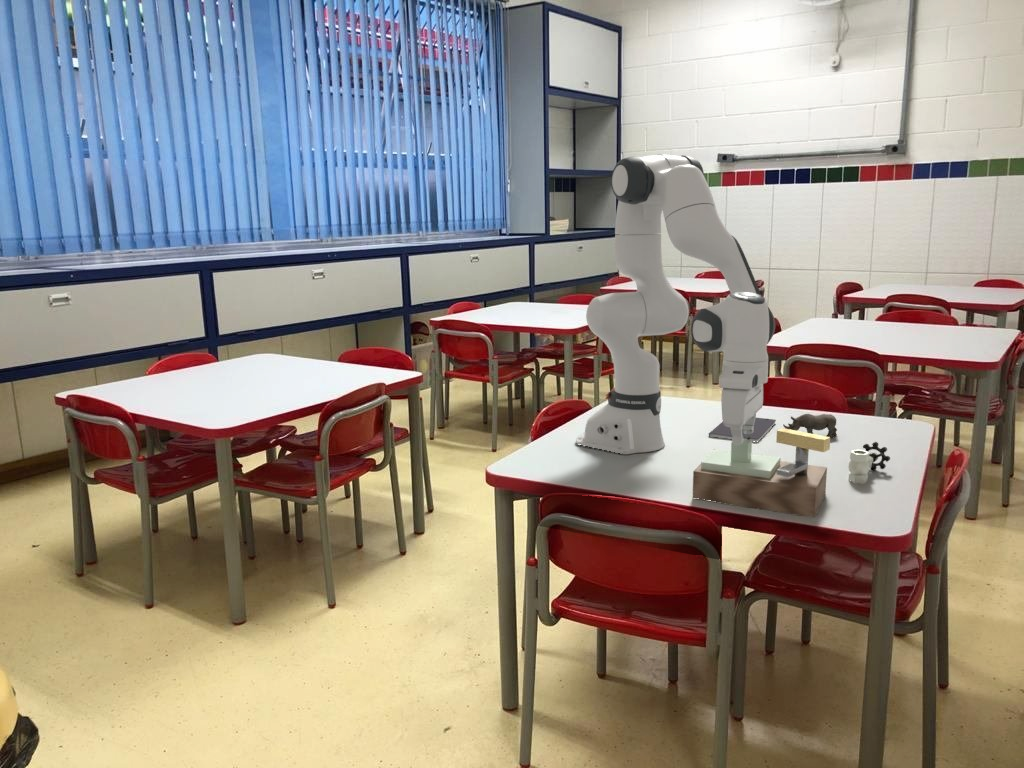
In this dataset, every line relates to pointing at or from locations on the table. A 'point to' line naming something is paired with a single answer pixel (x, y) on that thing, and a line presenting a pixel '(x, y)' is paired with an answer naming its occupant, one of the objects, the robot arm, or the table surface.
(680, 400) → the table surface
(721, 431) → the notebook
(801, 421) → the rhino figurine
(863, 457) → the valve
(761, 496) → the walnut box
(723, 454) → the cover
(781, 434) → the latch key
